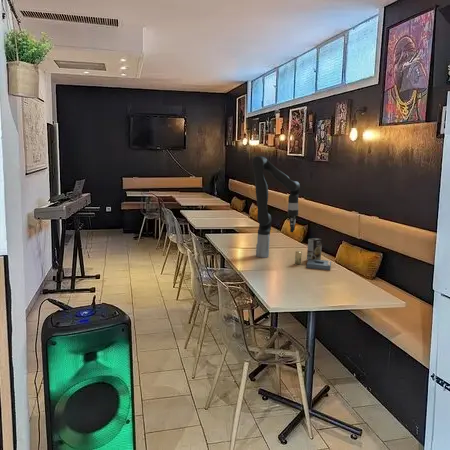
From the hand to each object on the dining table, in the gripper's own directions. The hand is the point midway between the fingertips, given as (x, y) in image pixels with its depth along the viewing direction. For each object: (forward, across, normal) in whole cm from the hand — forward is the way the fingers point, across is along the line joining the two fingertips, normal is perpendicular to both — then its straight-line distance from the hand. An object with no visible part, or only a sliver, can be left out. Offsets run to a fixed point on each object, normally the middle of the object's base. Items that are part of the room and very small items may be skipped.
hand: (292, 231), depth 332 cm
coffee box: (+23, -12, +15) cm, 30 cm away
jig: (+23, +7, +20) cm, 31 cm away
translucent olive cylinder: (+23, +6, +5) cm, 24 cm away
